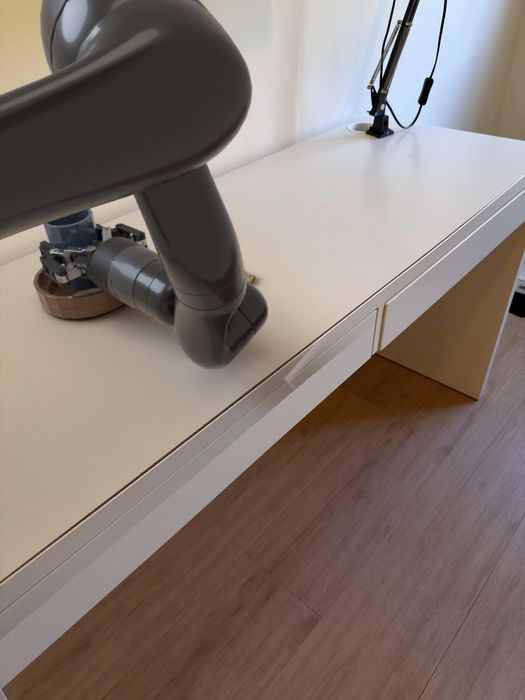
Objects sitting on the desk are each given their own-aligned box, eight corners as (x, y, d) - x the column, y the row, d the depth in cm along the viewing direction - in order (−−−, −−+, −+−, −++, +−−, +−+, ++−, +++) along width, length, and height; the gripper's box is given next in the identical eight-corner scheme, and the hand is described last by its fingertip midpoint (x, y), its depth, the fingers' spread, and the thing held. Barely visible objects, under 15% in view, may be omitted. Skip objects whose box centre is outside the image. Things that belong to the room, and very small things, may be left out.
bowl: (53, 333, 73) (45, 310, 71) (33, 287, 83) (25, 265, 80) (150, 302, 78) (145, 278, 76) (120, 262, 88) (115, 240, 86)
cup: (69, 295, 75) (47, 231, 69) (58, 275, 80) (37, 213, 74) (114, 281, 78) (97, 218, 71) (101, 263, 82) (84, 202, 76)
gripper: (173, 227, 69) (102, 196, 78) (77, 272, 61) (10, 232, 70) (182, 277, 73) (114, 242, 83) (93, 324, 66) (29, 280, 75)
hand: (66, 238), depth 76 cm, fingers closed on cup, 7 cm apart
